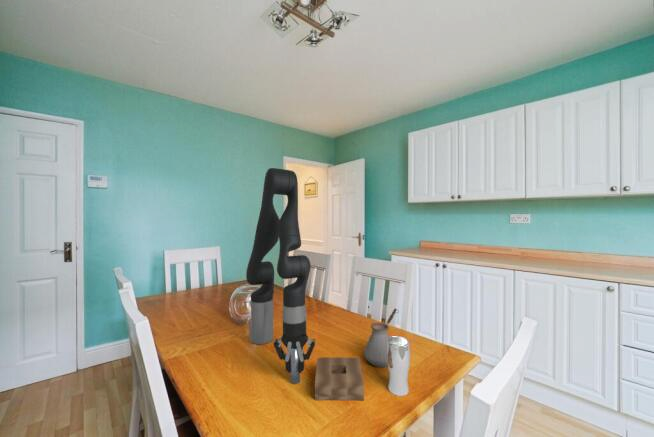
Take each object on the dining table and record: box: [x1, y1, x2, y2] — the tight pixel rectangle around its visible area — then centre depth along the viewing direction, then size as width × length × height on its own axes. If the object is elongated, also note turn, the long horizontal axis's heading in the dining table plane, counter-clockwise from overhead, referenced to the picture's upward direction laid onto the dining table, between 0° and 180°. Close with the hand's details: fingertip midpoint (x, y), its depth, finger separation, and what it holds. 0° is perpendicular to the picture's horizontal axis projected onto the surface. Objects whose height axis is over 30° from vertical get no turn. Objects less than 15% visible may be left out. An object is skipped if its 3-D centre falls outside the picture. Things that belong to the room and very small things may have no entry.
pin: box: [289, 349, 301, 385], centre depth 88 cm, size 3×3×11 cm
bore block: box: [314, 357, 365, 401], centre depth 86 cm, size 14×14×5 cm
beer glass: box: [386, 335, 411, 397], centre depth 83 cm, size 7×7×15 cm
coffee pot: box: [363, 308, 400, 368], centre depth 103 cm, size 21×12×15 cm, turn 143°
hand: (295, 371), depth 88 cm, fingers closed on pin, 3 cm apart
